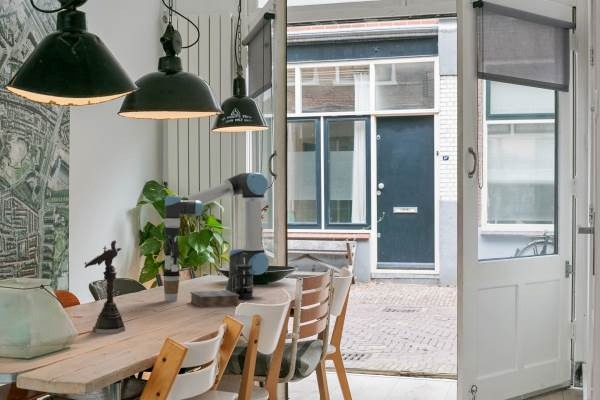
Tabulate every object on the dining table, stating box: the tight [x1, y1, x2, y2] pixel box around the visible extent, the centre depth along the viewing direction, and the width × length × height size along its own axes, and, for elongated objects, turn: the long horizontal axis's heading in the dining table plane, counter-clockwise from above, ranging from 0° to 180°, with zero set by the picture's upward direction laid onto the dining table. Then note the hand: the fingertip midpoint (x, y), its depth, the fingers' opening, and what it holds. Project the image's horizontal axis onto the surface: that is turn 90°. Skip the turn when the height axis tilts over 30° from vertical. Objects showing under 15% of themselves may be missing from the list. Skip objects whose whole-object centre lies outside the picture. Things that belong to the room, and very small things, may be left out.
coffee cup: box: [162, 268, 181, 302], centre depth 357 cm, size 8×8×15 cm
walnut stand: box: [189, 289, 240, 308], centre depth 349 cm, size 19×19×5 cm
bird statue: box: [84, 240, 126, 335], centre depth 275 cm, size 17×13×35 cm
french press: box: [231, 253, 254, 301], centre depth 368 cm, size 12×9×23 cm
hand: (170, 270), depth 357 cm, fingers open, 13 cm apart
